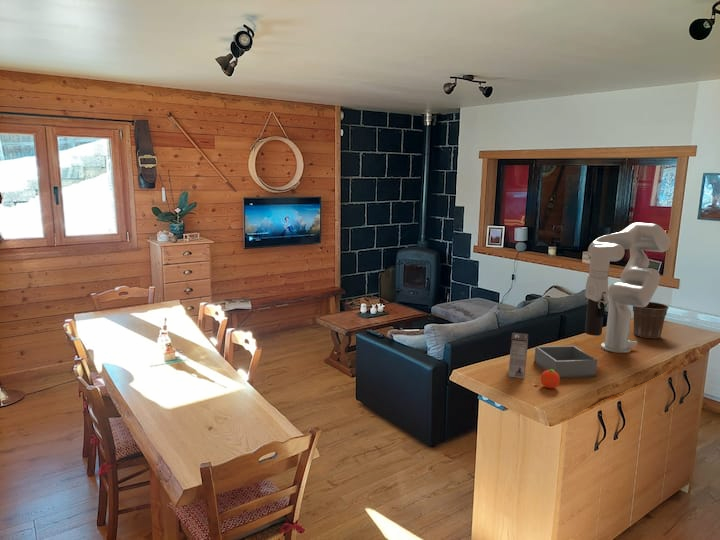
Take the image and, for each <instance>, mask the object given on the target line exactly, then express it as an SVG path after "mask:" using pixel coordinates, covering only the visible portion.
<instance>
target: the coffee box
mask: <svg viewBox="0 0 720 540" xmlns="http://www.w3.org/2000/svg"><path fill="white" fill-rule="evenodd" d="M528 343H529V334H528V333H521V332H520V333H519V332H511V338H510V350H509V351H510V353H509V361H508V362H509V366H508V377H509V378H517V379H526V378H525V377H526V366H527V355H528V345H529V344H528Z"/></svg>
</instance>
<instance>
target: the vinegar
mask: <svg viewBox="0 0 720 540" xmlns="http://www.w3.org/2000/svg"><path fill="white" fill-rule="evenodd" d="M586 301H587V302H586V310H587V312H586V315H585V324H584V325H585V326H584V334H586V335H589V336H594V337H595V336H601V335H602V333H603V324H604V317H596V313H597V308H598V304H597V302H595V301H593V300H591V299H588V300H587V299H586ZM600 301H602V300H600ZM601 304H602V302H600V305H601Z"/></svg>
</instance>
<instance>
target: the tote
mask: <svg viewBox="0 0 720 540" xmlns="http://www.w3.org/2000/svg"><path fill="white" fill-rule="evenodd" d="M534 348H535V349H534V350H535V351H534V360H533V361H534V363H535V364H536V365H537V366H538V367H540V368H541V369H542V370H543V371H546V370H551V369H553V370H555V372H557V373H558V375H559V377H560V379H565V378H567V379H568V378H569V379H570V378H571V379H572V378H591V377H593V378H594V377H596V376H597V367H598V366H597V365H598V359H597V358H595V357H593V356H592V355H589V354H588V353H586V352H585V351H583V350H581V349H580V348H578V347H577V346H575V345H560V346H559V345H554V346H553V345H551V346H550V345H549V346H535V347H534Z"/></svg>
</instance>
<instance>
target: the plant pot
mask: <svg viewBox="0 0 720 540" xmlns="http://www.w3.org/2000/svg"><path fill="white" fill-rule="evenodd" d="M669 308H670V306H669V305H666V304H663V303H659V302H653V301H650V302H649V303H648V305H647V306H645V307H636V306H632V312H633V334H634V336H636V335H637V336H636V337H638V336H640V337H639V338H642V337H643V339H652V340H653V339H654V340H655V339H657V338H658V339H660V338H661V337H662V332H663V327H664V323H665V318H666V316H667V313H668V310H669Z"/></svg>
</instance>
